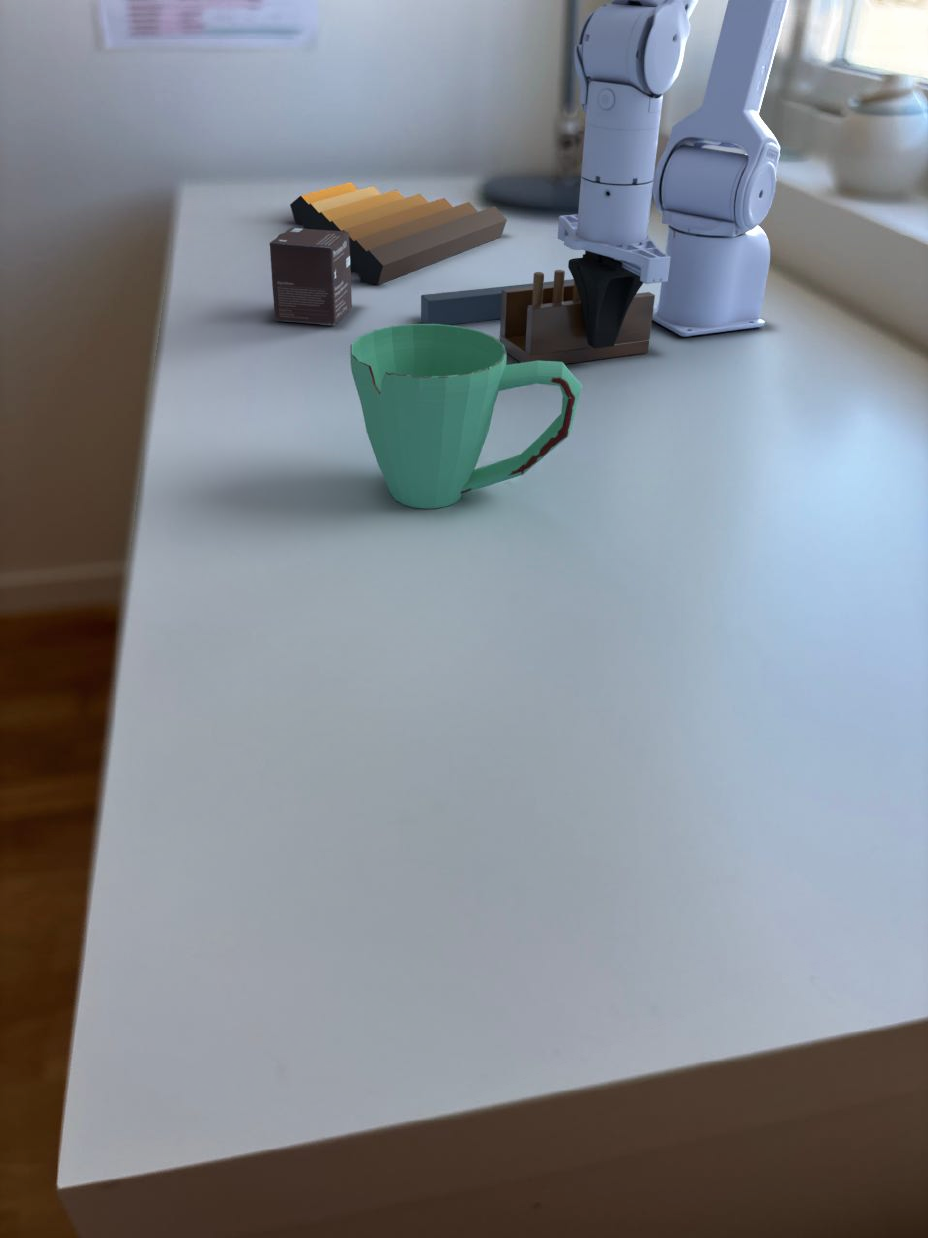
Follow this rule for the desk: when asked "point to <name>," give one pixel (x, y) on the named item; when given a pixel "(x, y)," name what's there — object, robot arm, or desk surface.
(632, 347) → the rack
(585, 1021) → the desk surface
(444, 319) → the rail
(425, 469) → the mug
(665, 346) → the desk surface
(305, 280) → the box
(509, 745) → the desk surface
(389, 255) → the ridged wooden panel
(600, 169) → the robot arm
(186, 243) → the desk surface
